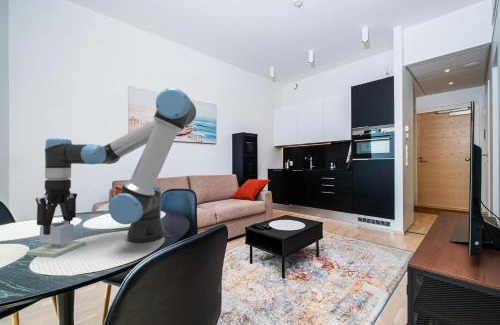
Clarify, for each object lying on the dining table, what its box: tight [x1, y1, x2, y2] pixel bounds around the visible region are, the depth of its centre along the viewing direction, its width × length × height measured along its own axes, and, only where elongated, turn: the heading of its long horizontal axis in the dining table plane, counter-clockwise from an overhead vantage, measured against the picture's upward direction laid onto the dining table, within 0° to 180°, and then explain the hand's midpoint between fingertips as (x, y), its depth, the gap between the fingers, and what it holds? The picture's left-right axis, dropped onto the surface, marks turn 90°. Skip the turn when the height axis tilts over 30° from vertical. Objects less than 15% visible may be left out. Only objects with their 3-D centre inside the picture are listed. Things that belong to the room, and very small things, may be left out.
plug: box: [39, 221, 75, 244], centre depth 83 cm, size 9×5×7 cm, turn 81°
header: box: [25, 240, 87, 258], centre depth 83 cm, size 12×12×5 cm
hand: (57, 240), depth 83 cm, fingers closed on plug, 5 cm apart
